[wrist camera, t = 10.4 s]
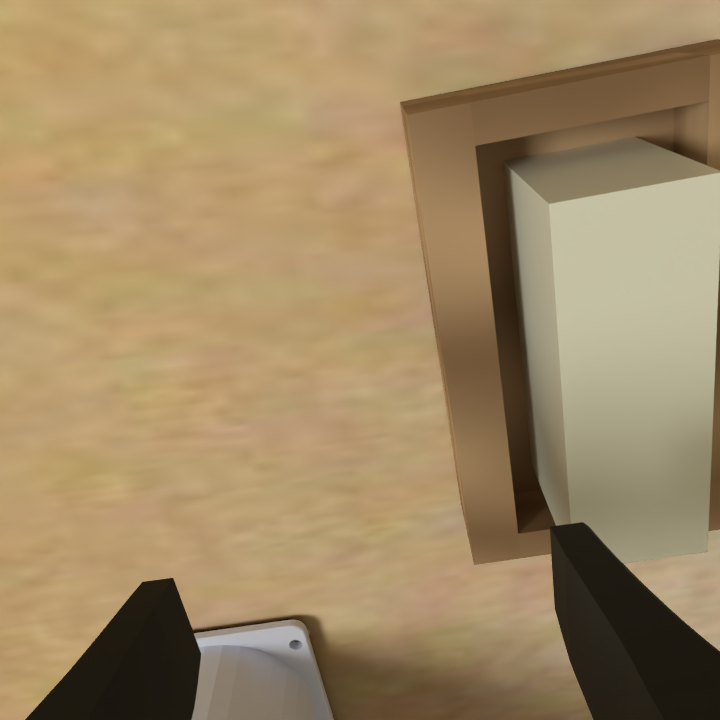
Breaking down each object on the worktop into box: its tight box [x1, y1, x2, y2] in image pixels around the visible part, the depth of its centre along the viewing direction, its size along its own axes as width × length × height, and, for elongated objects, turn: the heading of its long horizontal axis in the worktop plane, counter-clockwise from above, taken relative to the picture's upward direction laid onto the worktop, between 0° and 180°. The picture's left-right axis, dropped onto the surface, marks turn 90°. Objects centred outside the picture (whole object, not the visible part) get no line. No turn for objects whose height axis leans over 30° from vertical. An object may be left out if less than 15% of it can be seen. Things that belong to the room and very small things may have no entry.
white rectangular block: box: [503, 137, 720, 564], centre depth 18 cm, size 10×4×5 cm, turn 11°
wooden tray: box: [400, 40, 720, 565], centre depth 20 cm, size 14×8×3 cm, turn 11°
